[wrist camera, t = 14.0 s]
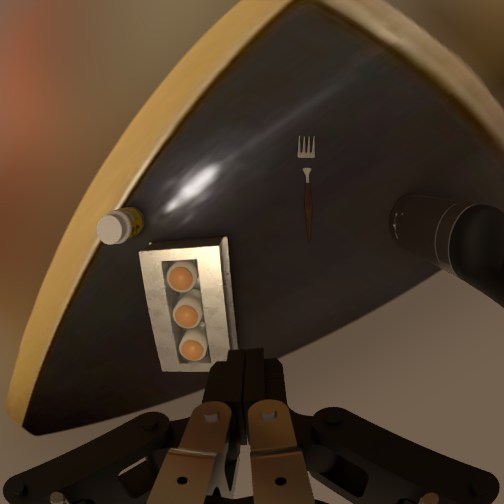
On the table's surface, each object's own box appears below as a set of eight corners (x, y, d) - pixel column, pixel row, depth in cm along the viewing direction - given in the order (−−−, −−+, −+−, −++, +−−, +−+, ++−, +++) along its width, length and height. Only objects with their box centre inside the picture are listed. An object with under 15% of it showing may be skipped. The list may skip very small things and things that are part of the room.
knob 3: (209, 320, 48) (203, 338, 43) (212, 342, 49) (207, 362, 44) (184, 321, 49) (176, 339, 43) (188, 342, 49) (181, 362, 44)
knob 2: (204, 288, 47) (198, 303, 41) (208, 312, 48) (202, 329, 42) (179, 289, 47) (170, 304, 41) (183, 312, 48) (174, 329, 42)
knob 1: (200, 252, 46) (193, 263, 40) (203, 278, 47) (196, 292, 41) (175, 254, 46) (164, 265, 40) (178, 280, 47) (168, 293, 41)
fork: (300, 243, 47) (301, 245, 45) (296, 137, 44) (297, 135, 42) (316, 242, 47) (319, 245, 45) (313, 137, 44) (315, 135, 42)
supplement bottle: (131, 242, 47) (109, 254, 39) (112, 221, 46) (87, 229, 38) (151, 221, 46) (130, 230, 38) (131, 200, 46) (107, 204, 37)
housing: (227, 235, 47) (222, 245, 40) (238, 347, 51) (235, 370, 44) (151, 241, 47) (135, 252, 40) (169, 349, 51) (159, 371, 45)
